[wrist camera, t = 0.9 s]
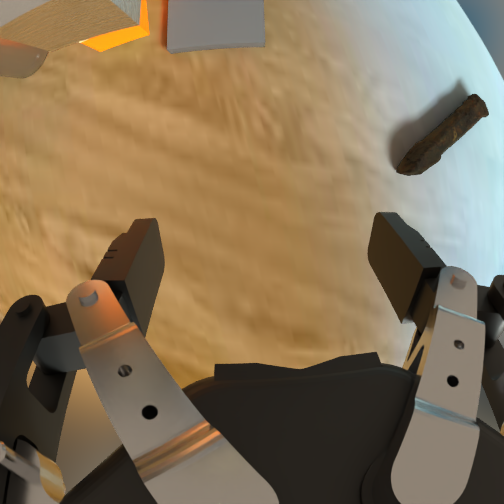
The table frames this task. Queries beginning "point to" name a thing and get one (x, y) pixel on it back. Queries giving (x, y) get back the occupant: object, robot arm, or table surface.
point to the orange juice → (121, 33)
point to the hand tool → (443, 137)
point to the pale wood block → (64, 20)
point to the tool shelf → (214, 24)
